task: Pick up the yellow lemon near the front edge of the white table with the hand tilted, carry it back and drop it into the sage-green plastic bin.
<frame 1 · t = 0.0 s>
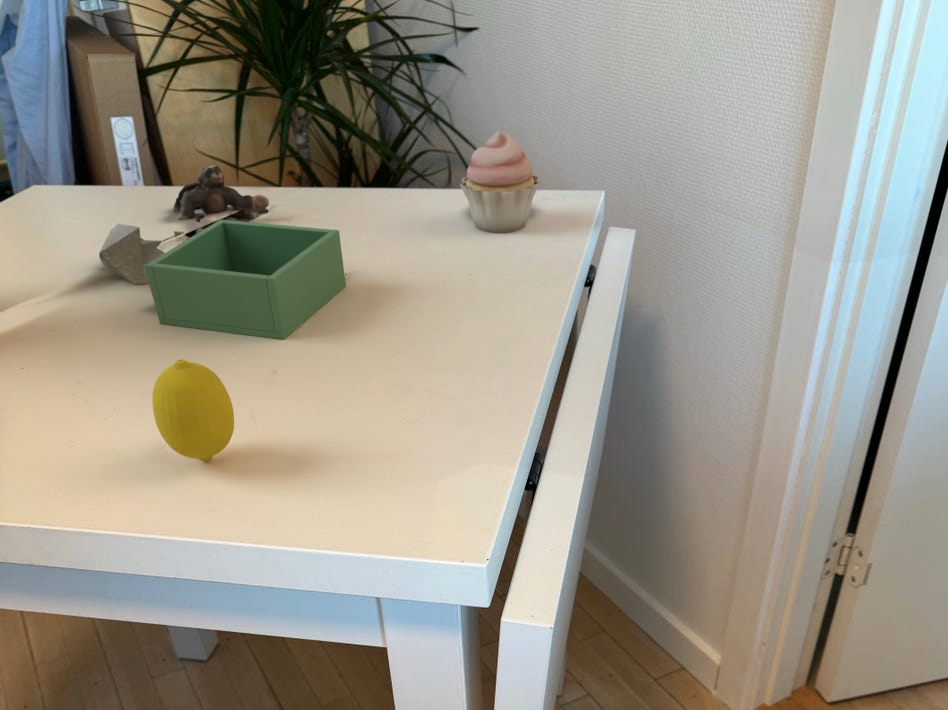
bin: (256, 304, 91), on the table
stuffed animal: (223, 223, 110), on the table
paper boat: (149, 281, 97), on the table
lemon: (207, 463, 68), on the table
cupcake: (500, 226, 107), on the table
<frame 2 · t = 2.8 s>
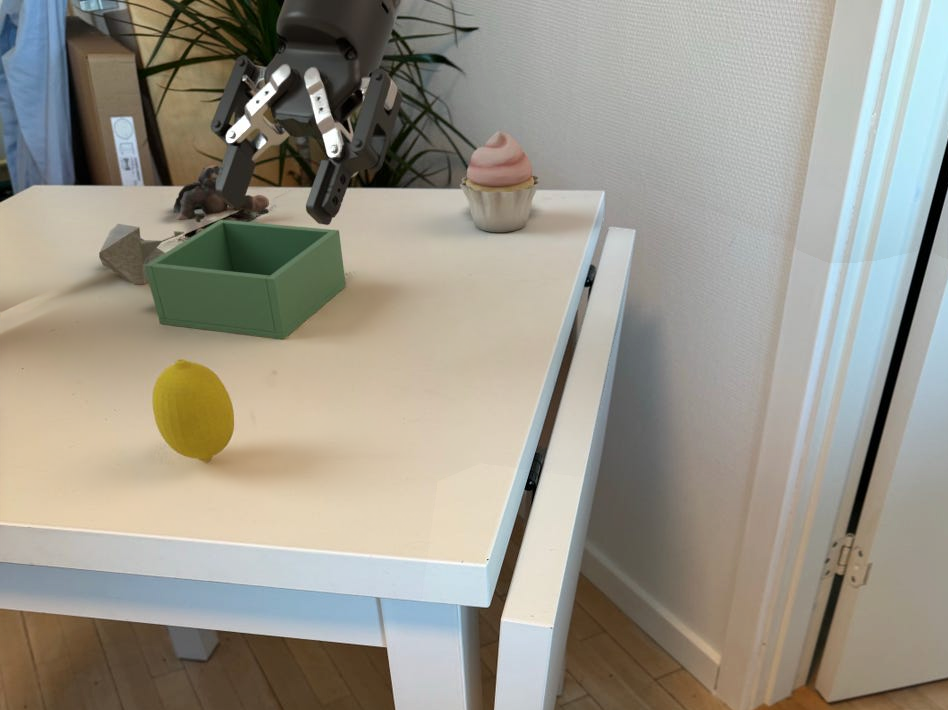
hand: (270, 210, 65), 15 cm above the table, tool tilted 45°, fingers open, 8 cm apart
nothing on the table moved.
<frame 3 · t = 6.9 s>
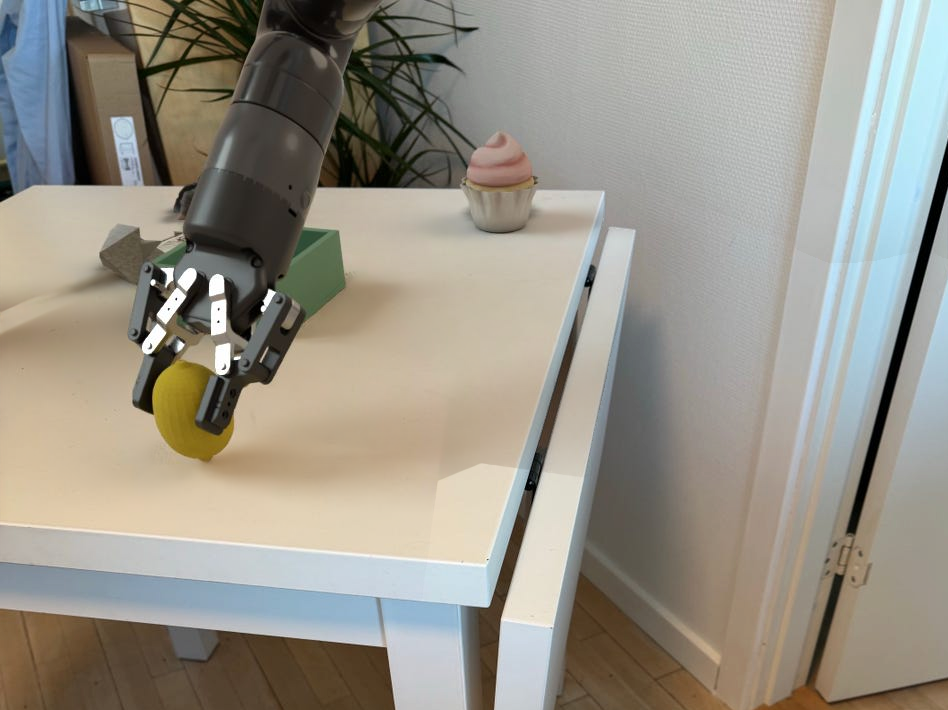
hand: (176, 420, 64), 4 cm above the table, tool tilted 45°, fingers closed on lemon, 5 cm apart
lemon: (207, 463, 68), on the table, touching gripper
everything else where it was.
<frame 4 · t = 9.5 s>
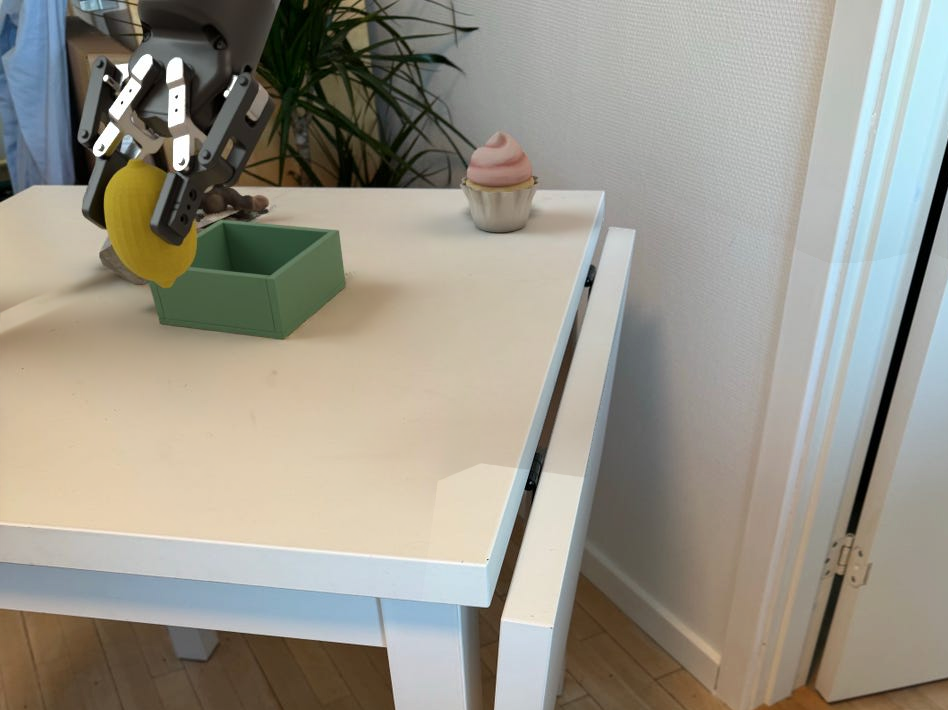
hand: (130, 230, 57), 17 cm above the table, tool tilted 45°, fingers closed on lemon, 5 cm apart
lemon: (167, 290, 62), point 12 cm above the table, touching gripper
everything else where it was.
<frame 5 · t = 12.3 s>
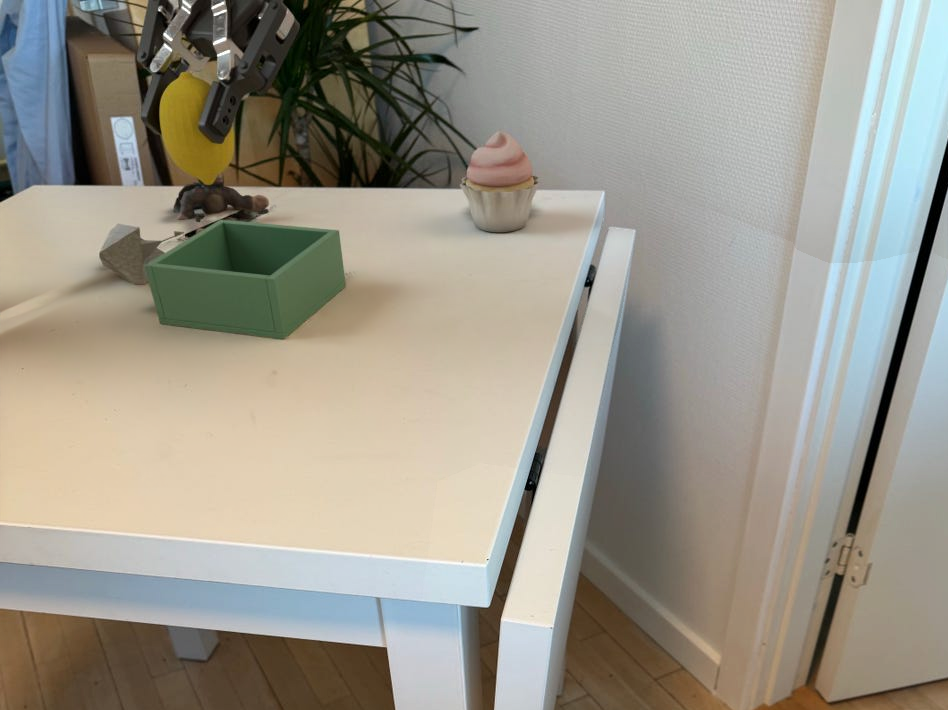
hand: (180, 132, 70), 18 cm above the table, tool tilted 45°, fingers closed on lemon, 5 cm apart
lemon: (209, 187, 74), point 14 cm above the table, touching gripper
everything else where it was.
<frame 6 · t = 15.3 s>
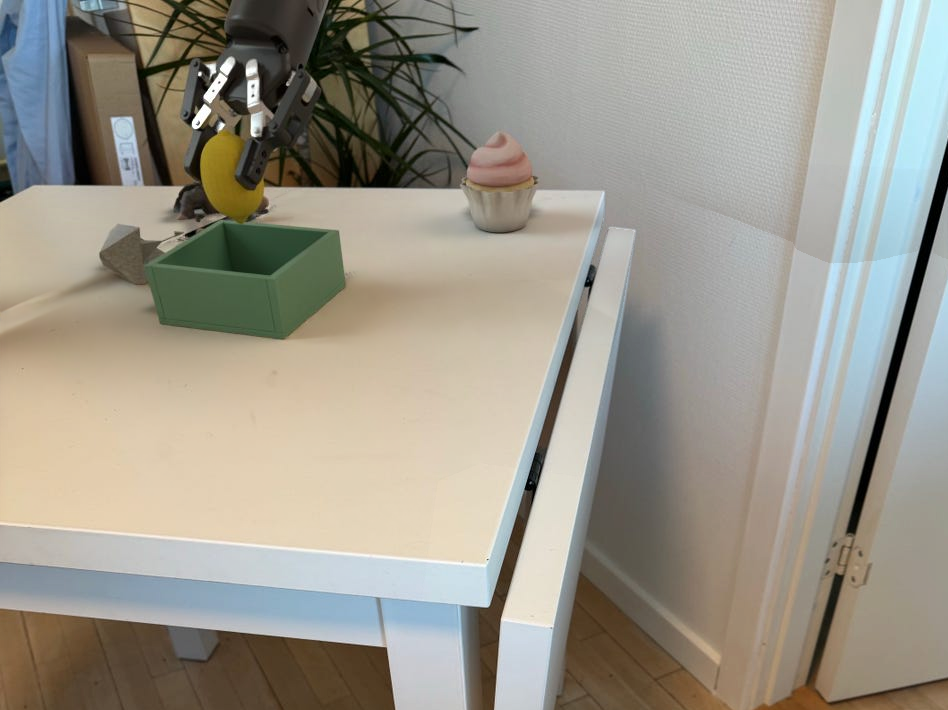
hand: (218, 180, 82), 12 cm above the table, tool tilted 45°, fingers closed on lemon, 5 cm apart
lemon: (242, 225, 86), point 7 cm above the table, touching gripper
everything else where it was.
when the fingers open (5 cm above the table, at t = 17.8 s): lemon stays where it is, resting on bin.
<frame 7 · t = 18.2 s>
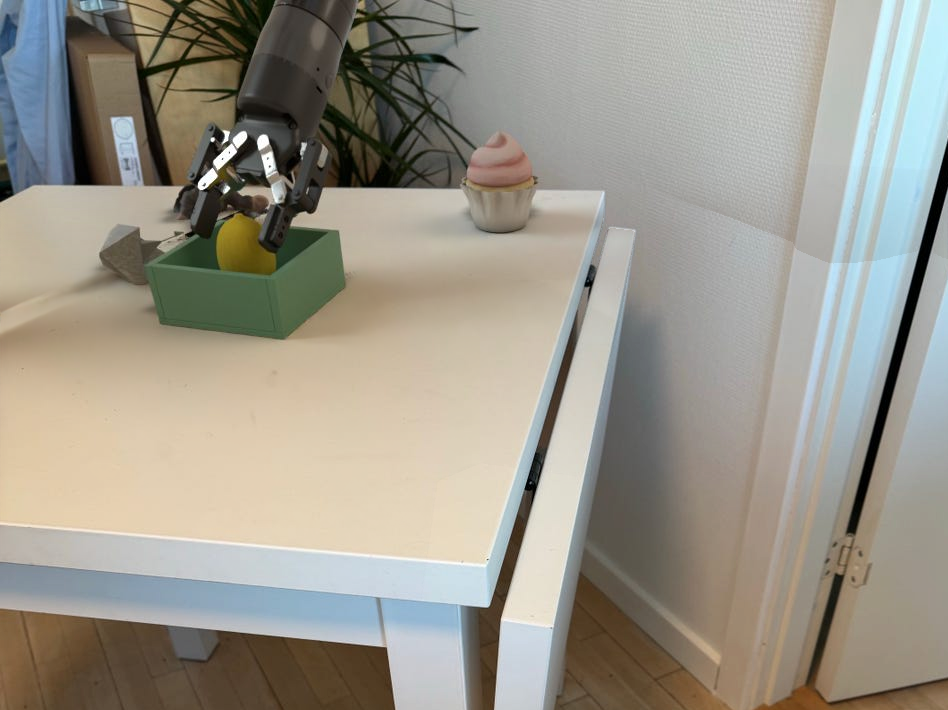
hand: (232, 241, 86), 6 cm above the table, tool tilted 45°, fingers open, 8 cm apart
lemon: (254, 299, 91), resting on bin
everything else where it was.
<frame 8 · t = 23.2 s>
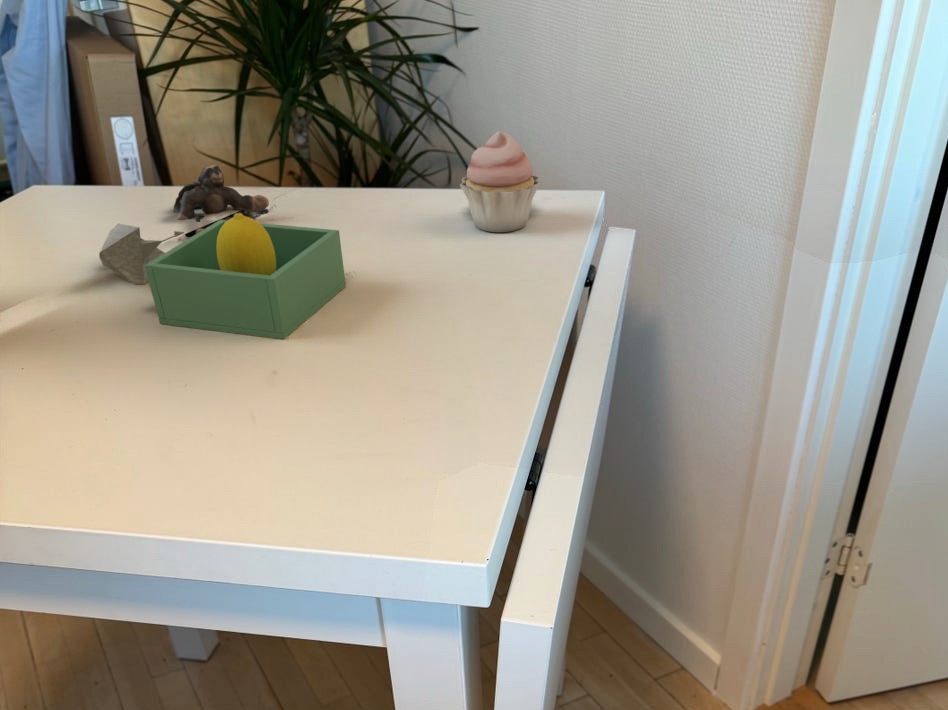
nothing on the table moved.
at the end: lemon inside the target area in the bin (0.2 cm from its centre), point 0.4 cm above the bin's base; the gripper is holding nothing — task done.
